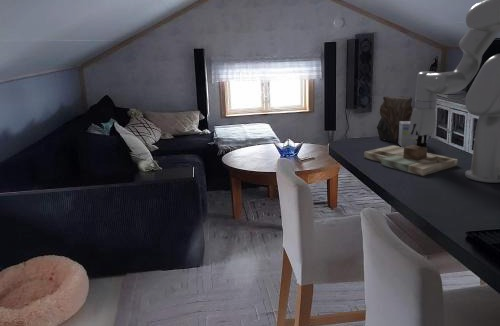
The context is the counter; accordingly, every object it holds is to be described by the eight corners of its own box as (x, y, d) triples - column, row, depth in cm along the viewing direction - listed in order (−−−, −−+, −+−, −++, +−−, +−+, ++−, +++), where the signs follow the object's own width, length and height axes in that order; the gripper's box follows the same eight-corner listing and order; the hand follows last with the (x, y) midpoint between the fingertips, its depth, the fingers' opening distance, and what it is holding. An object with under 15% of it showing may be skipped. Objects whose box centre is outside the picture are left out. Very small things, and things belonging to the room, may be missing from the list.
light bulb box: (421, 144, 198) (423, 120, 196) (425, 147, 192) (427, 123, 189) (397, 144, 200) (398, 120, 197) (400, 147, 193) (402, 123, 190)
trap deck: (456, 165, 164) (457, 159, 164) (422, 175, 153) (423, 169, 152) (392, 150, 187) (393, 145, 187) (358, 158, 176) (359, 152, 175)
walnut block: (426, 158, 166) (427, 147, 165) (417, 160, 163) (418, 150, 161) (412, 154, 171) (413, 144, 170) (403, 157, 167) (404, 147, 166)
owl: (374, 138, 212) (377, 96, 207) (393, 135, 218) (396, 94, 213) (395, 143, 202) (398, 99, 196) (414, 139, 207) (417, 97, 202)
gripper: (428, 102, 172) (424, 147, 177) (404, 105, 164) (400, 153, 169) (446, 104, 166) (441, 151, 171) (421, 108, 158) (417, 157, 163)
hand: (420, 152), depth 170 cm, fingers closed
